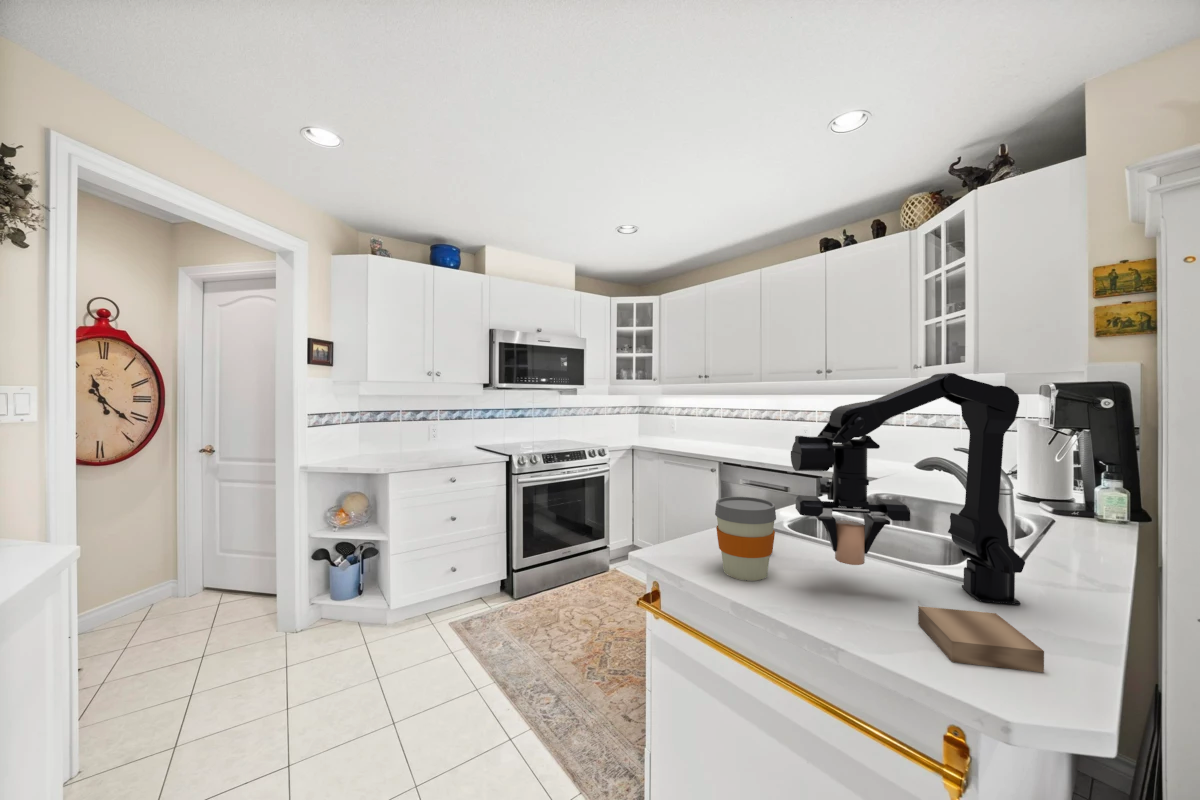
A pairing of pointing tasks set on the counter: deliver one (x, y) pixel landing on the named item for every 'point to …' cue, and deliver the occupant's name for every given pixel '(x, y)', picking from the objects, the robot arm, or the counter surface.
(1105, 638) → the counter surface
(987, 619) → the walnut block
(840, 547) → the tan cylinder
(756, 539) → the reusable coffee cup
